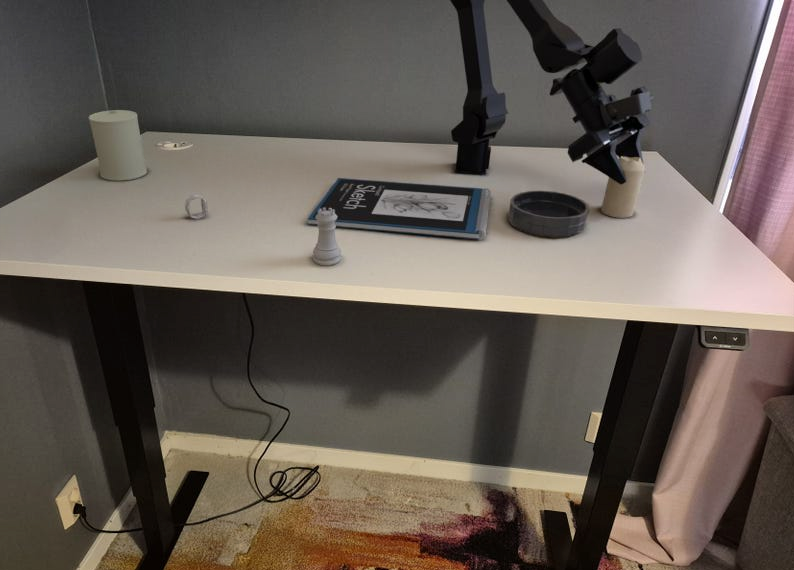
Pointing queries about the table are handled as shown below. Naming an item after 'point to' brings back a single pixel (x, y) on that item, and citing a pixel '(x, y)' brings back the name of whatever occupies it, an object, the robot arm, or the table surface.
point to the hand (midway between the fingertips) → (633, 178)
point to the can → (118, 144)
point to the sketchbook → (407, 208)
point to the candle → (624, 189)
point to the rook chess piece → (326, 239)
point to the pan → (548, 213)
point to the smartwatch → (203, 204)
